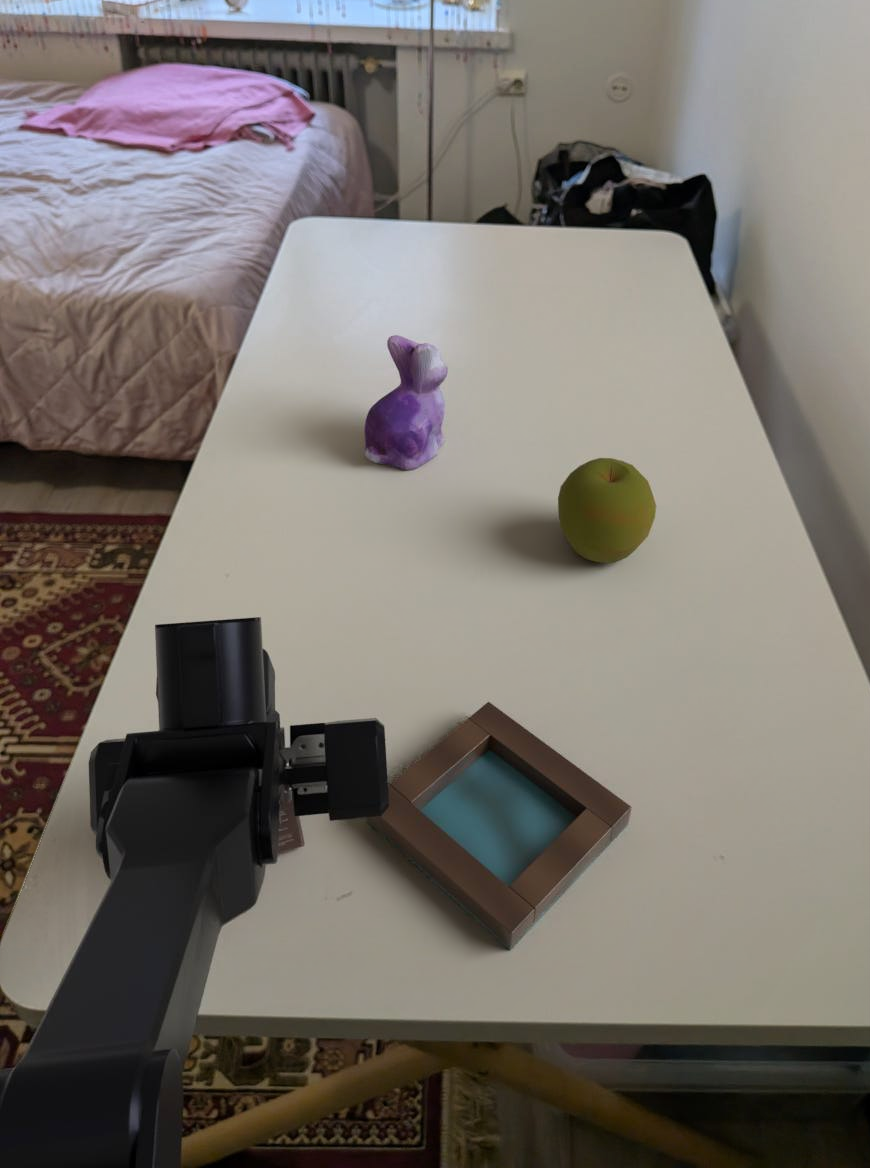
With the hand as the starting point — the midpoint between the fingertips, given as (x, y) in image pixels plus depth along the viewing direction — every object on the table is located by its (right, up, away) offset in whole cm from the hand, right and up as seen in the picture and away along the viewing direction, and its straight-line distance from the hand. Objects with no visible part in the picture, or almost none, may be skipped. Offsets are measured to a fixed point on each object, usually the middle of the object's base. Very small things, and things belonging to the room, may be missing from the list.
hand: (259, 760), depth 71 cm
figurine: (+8, +27, +43) cm, 52 cm away
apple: (+29, +15, +30) cm, 44 cm away
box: (0, -6, +4) cm, 7 cm away
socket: (+18, -6, +4) cm, 19 cm away
